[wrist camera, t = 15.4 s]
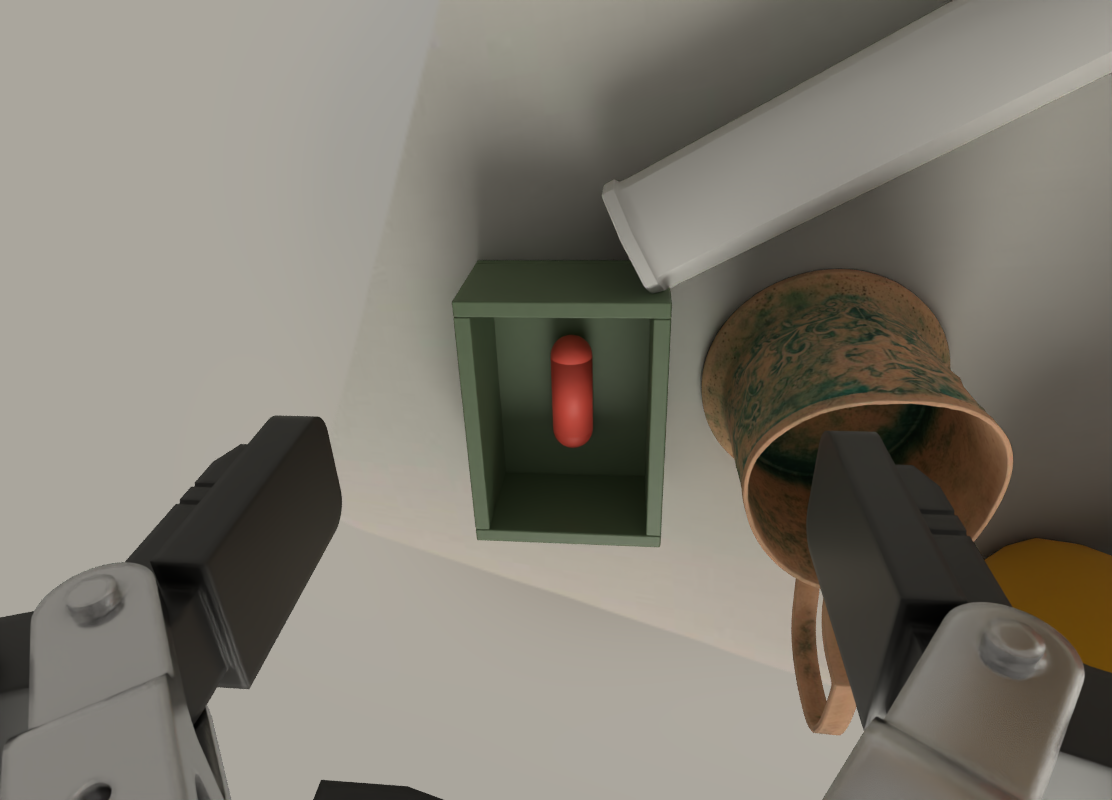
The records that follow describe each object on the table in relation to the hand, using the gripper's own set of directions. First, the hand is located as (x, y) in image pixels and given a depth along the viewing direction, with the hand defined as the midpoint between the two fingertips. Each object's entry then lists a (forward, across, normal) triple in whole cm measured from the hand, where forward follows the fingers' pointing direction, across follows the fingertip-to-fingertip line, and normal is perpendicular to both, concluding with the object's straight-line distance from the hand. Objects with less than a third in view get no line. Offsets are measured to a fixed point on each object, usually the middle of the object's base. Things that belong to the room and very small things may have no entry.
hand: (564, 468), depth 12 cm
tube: (+23, -12, -3) cm, 26 cm away
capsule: (+22, +2, +11) cm, 25 cm away
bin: (+23, +2, +10) cm, 25 cm away
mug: (+23, -10, +14) cm, 28 cm away
